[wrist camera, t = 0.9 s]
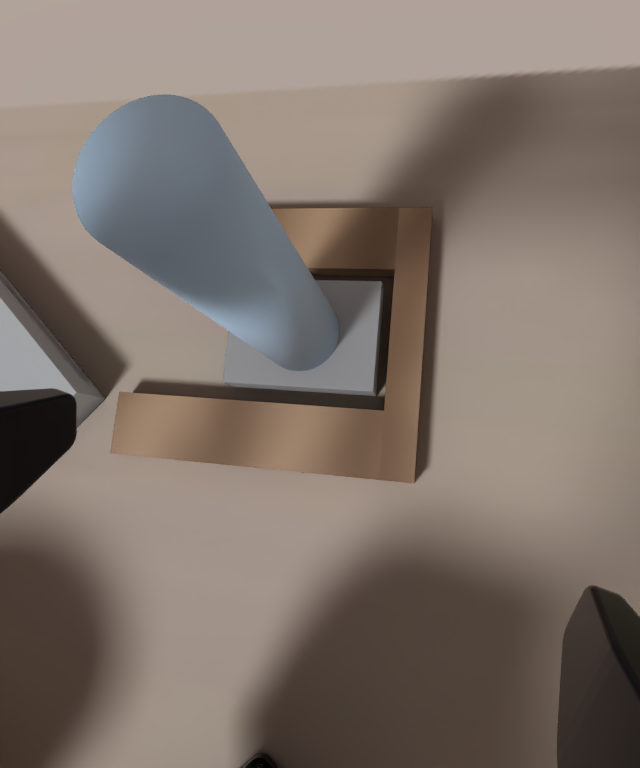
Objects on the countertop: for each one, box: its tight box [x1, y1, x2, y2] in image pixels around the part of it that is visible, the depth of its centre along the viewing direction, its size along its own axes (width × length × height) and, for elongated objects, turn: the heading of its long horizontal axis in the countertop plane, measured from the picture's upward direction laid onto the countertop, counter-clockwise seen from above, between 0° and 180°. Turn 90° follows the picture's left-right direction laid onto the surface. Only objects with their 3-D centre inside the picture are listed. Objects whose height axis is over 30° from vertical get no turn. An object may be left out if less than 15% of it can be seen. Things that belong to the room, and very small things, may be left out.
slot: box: [110, 207, 432, 483], centre depth 26 cm, size 14×12×1 cm
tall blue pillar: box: [73, 95, 384, 396], centre depth 19 cm, size 7×5×15 cm
